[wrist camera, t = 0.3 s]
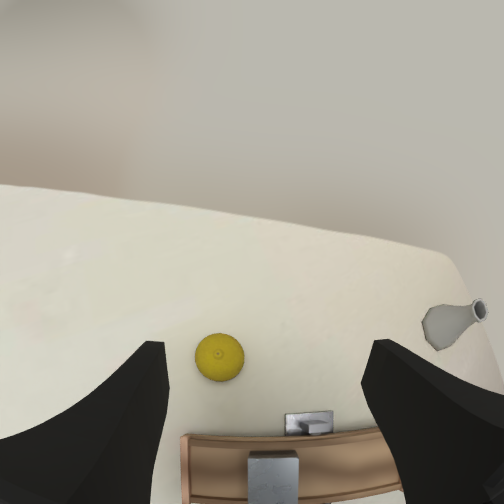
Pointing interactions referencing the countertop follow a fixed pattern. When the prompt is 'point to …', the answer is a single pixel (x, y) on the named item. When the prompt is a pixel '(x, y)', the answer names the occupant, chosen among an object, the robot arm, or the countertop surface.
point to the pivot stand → (309, 424)
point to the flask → (451, 322)
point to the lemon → (219, 357)
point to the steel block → (273, 477)
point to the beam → (310, 466)
